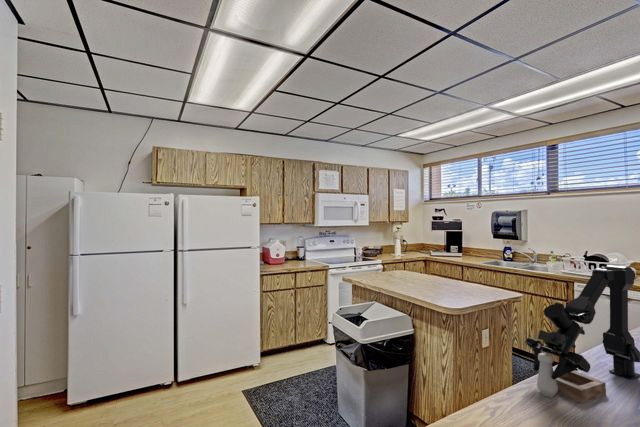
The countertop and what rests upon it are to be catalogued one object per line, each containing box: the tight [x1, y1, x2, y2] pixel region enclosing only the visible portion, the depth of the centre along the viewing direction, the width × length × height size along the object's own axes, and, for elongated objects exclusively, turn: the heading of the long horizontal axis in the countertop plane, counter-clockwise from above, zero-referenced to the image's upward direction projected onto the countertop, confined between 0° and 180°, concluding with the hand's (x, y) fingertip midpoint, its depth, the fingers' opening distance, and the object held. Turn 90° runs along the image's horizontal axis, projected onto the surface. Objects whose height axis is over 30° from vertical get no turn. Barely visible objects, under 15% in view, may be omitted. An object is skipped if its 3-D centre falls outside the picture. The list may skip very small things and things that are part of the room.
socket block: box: [556, 371, 607, 404], centre depth 109 cm, size 12×12×4 cm
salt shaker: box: [536, 353, 558, 398], centre depth 108 cm, size 6×6×13 cm
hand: (543, 374), depth 107 cm, fingers open, 6 cm apart
